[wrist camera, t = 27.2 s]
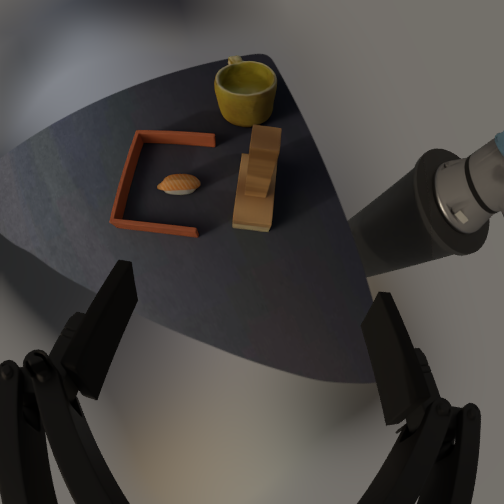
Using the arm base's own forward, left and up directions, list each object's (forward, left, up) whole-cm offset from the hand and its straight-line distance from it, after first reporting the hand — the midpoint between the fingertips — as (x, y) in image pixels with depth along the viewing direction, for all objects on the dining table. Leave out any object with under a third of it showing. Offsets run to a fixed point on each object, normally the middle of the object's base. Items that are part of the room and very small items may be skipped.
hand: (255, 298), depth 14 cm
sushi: (+11, -15, -24) cm, 30 cm away
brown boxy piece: (0, -15, -24) cm, 28 cm away
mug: (+4, -33, -24) cm, 41 cm away
